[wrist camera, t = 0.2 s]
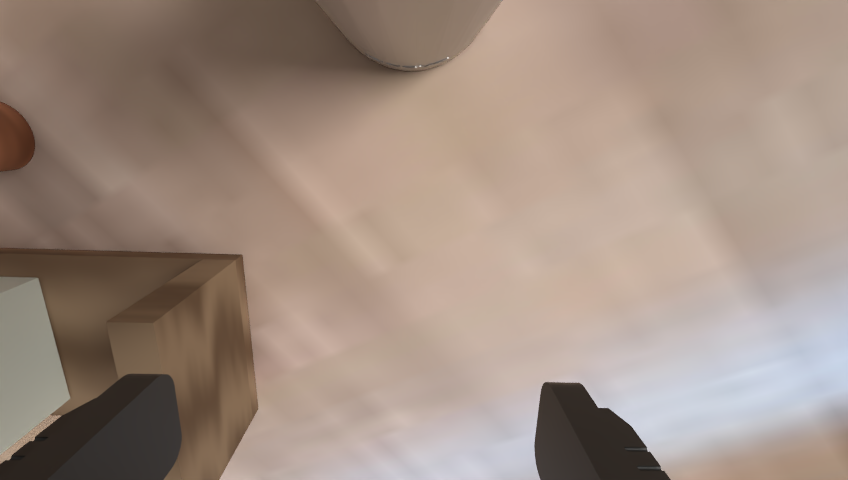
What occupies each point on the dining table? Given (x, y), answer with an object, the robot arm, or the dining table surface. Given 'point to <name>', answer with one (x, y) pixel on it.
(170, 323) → the walnut angle bracket
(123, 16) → the dining table surface
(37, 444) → the robot arm
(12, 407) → the hole block
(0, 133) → the dowel
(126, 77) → the dining table surface
